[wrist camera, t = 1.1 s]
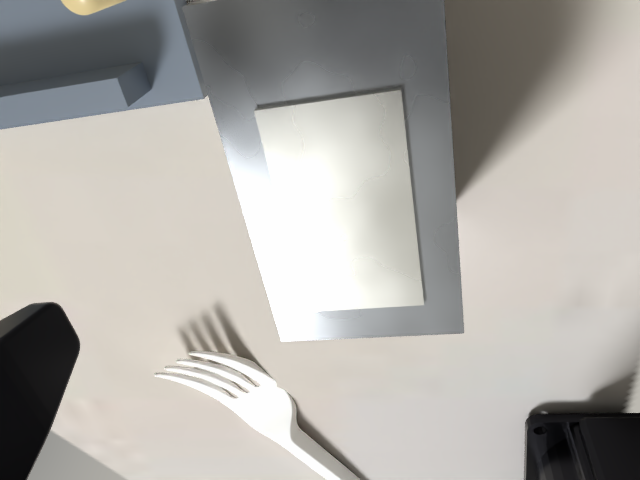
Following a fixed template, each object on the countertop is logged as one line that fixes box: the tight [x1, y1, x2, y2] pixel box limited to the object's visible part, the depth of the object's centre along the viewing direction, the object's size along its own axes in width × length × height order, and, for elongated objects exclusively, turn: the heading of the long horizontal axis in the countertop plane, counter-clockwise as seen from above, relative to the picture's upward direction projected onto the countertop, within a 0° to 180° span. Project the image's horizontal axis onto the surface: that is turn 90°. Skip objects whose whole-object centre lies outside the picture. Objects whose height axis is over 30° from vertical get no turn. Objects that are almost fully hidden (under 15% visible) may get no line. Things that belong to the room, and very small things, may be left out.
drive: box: [182, 0, 464, 342], centre depth 13 cm, size 8×4×6 cm, turn 11°
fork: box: [154, 351, 361, 480], centre depth 25 cm, size 3×20×2 cm, turn 40°
